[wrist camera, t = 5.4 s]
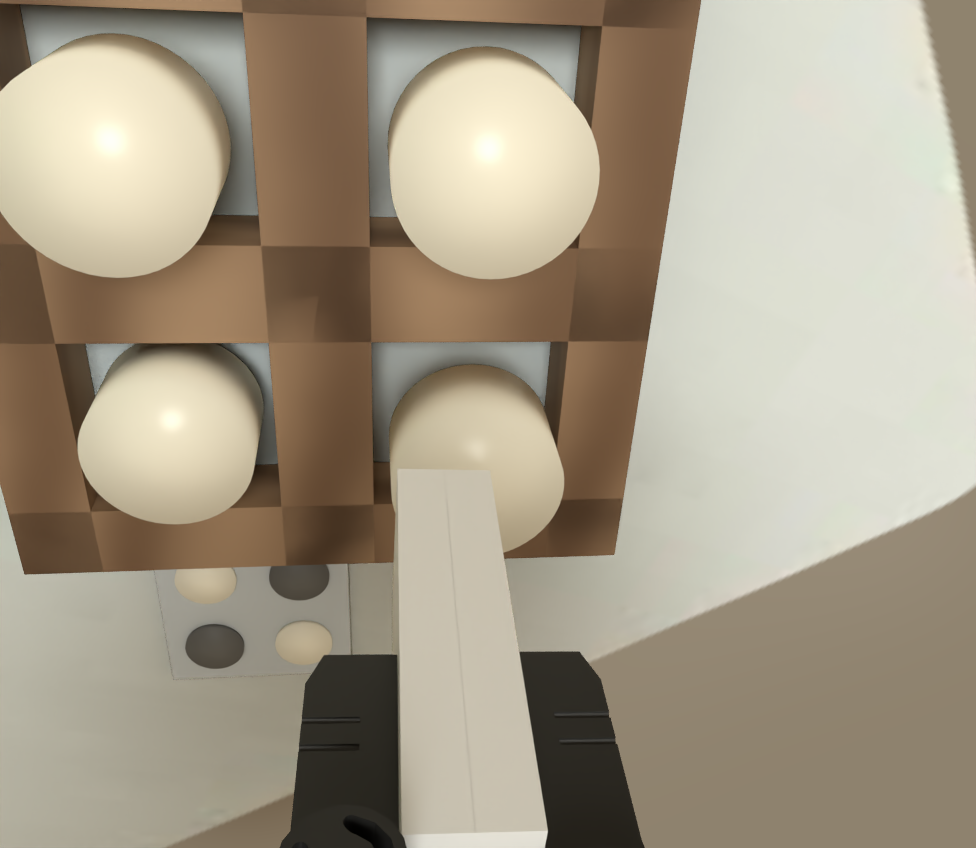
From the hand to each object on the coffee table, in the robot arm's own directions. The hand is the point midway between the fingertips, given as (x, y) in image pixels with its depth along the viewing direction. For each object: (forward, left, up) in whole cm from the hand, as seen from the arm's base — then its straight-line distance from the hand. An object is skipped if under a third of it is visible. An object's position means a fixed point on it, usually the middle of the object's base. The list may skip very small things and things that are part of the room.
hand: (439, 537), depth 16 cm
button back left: (-7, -6, -15) cm, 17 cm away
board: (-3, -1, -15) cm, 16 cm away
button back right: (+2, -6, -12) cm, 14 cm away
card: (-6, -15, -15) cm, 22 cm away
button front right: (+2, +3, -12) cm, 13 cm away
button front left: (-7, +3, -12) cm, 15 cm away
